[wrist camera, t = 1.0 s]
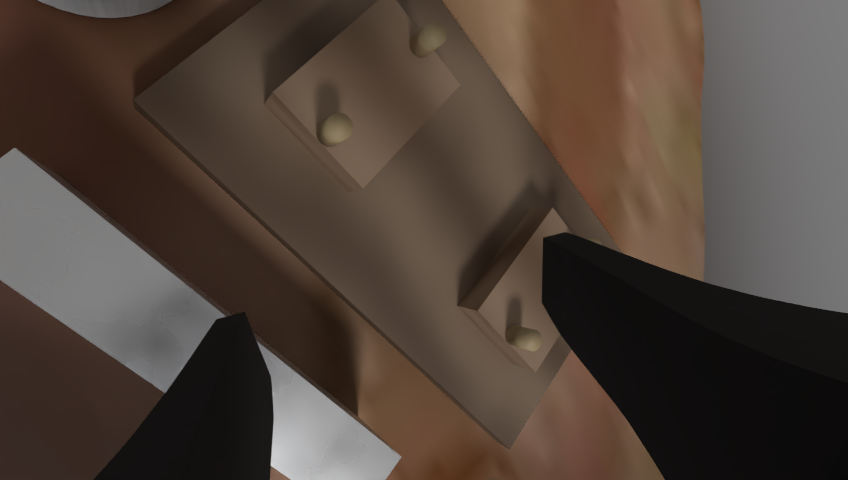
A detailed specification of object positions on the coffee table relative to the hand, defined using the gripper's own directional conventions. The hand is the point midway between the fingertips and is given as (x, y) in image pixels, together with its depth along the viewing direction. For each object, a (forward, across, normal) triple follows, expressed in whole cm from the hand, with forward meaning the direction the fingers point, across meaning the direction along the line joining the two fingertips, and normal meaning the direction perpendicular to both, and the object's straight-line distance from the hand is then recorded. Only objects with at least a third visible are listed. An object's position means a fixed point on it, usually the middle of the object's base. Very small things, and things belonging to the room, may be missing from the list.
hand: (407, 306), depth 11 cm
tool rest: (+13, -4, +4) cm, 14 cm away
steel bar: (+8, +8, +5) cm, 12 cm away
